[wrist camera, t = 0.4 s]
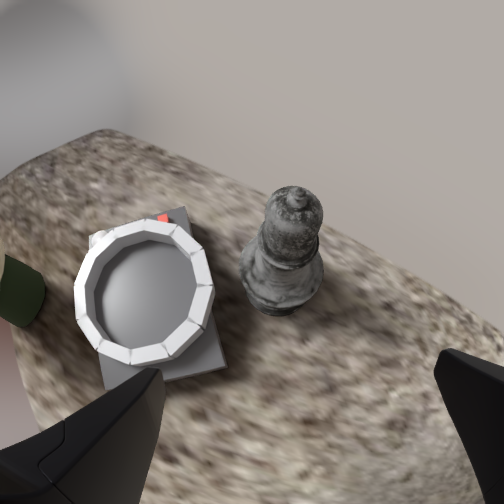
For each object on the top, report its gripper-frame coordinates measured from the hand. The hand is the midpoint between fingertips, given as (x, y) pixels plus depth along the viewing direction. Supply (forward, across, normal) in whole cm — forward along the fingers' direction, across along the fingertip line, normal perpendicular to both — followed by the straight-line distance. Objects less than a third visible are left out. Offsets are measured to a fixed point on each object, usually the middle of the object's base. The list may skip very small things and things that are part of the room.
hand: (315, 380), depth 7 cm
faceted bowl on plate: (+14, +10, +4) cm, 17 cm away
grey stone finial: (+15, 0, +3) cm, 15 cm away
